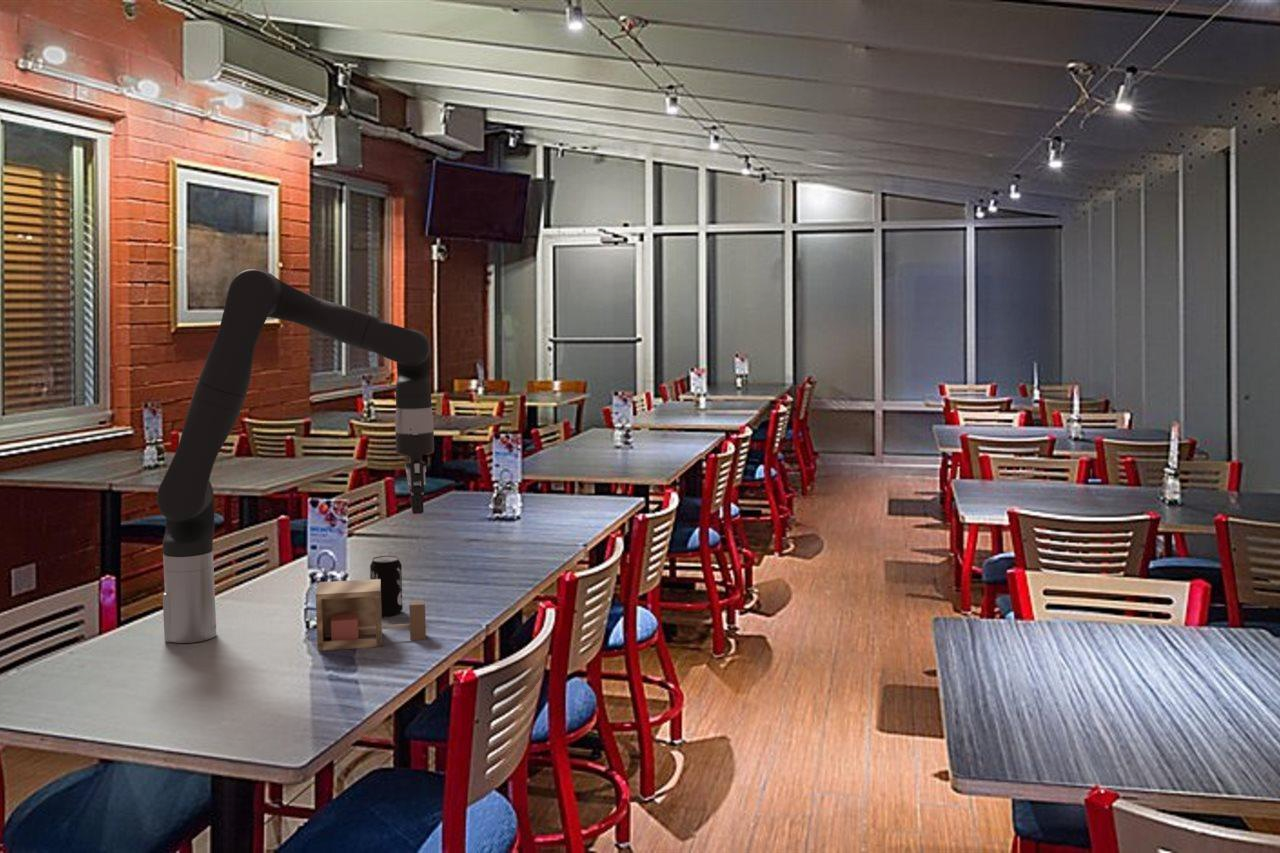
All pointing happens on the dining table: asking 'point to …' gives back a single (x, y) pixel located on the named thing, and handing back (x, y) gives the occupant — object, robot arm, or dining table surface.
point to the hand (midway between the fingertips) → (416, 509)
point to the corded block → (348, 625)
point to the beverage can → (388, 583)
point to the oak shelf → (349, 611)
